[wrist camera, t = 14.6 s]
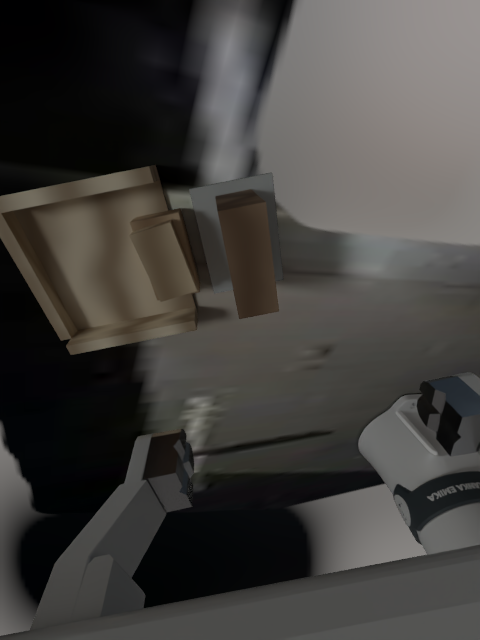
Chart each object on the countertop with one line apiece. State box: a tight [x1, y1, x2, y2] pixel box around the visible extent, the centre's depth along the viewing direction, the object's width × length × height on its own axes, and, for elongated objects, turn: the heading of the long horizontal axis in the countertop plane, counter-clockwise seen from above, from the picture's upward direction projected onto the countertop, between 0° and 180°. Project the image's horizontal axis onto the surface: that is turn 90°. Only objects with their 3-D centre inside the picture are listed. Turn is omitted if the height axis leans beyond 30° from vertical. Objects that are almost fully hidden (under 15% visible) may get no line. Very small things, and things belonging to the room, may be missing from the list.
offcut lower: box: [130, 208, 200, 301], centre depth 29 cm, size 4×8×2 cm, turn 10°
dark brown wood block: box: [215, 189, 279, 319], centre depth 27 cm, size 4×9×8 cm, turn 10°
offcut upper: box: [129, 219, 198, 302], centre depth 28 cm, size 4×7×2 cm, turn 16°
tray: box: [0, 165, 198, 355], centre depth 29 cm, size 15×16×4 cm
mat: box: [189, 173, 283, 293], centre depth 31 cm, size 8×11×1 cm
